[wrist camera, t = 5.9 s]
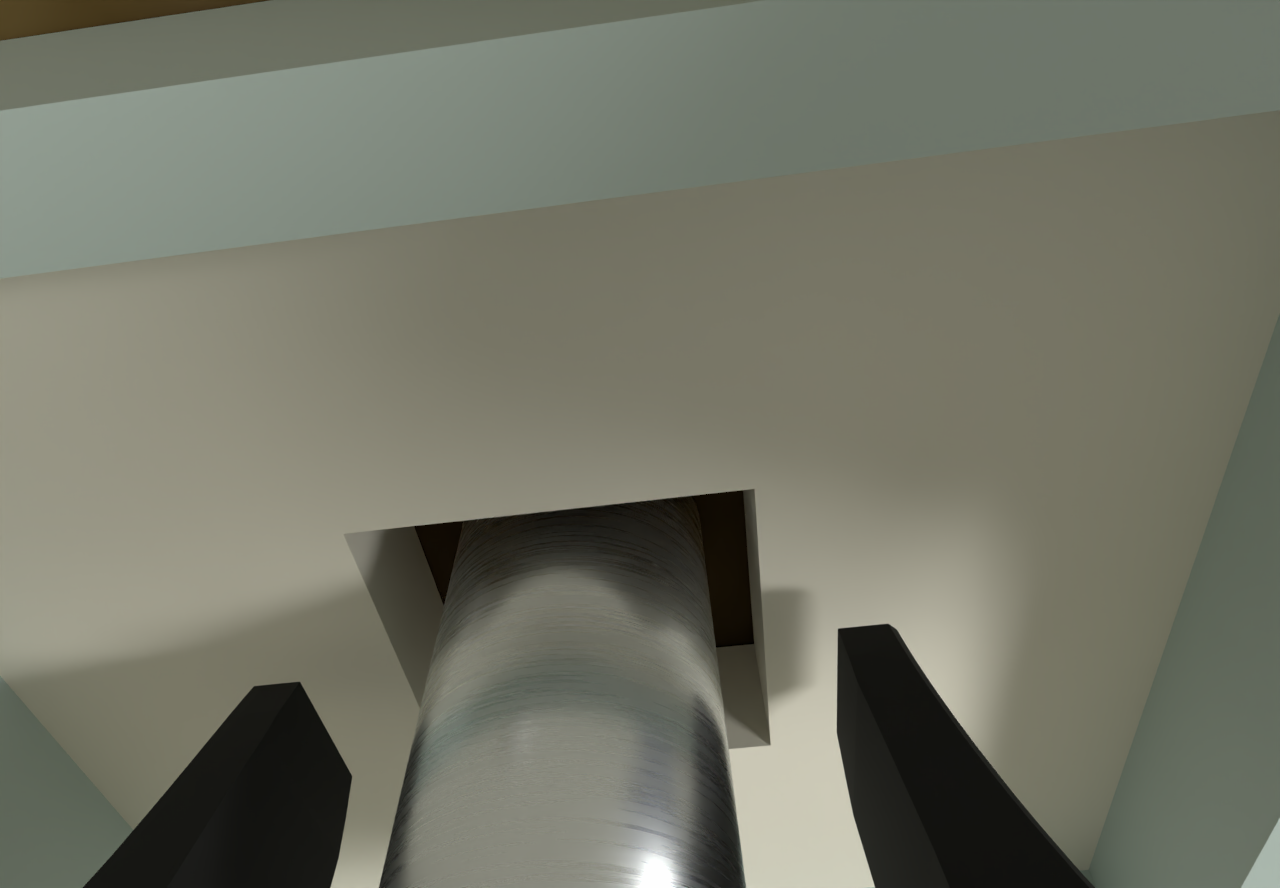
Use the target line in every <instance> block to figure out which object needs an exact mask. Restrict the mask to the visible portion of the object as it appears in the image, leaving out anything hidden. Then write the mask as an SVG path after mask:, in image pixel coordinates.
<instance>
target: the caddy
mask: <svg viewBox="0 0 1280 888" xmlns="http://www.w3.org/2000/svg"><path fill="white" fill-rule="evenodd" d="M740 490H743V499H744V513H745V526H746V540H747V554H748V567H749V581H750V595H751V609H752V622H753V636H754V644H749V645H739V646H729V647H719V648H716V651H717V659H718V667H719V675H720V683H721V691H722V699H723V707H724V715H725V723H726V731H727V739H728V747H729V755H730V763H731V771H732V779H733V787H734V795H735V803H736V811H737V819H738V827H739V835H740V842H741V850H742V858H743V866H744V874H745V882H746V888H875V885H874V882H873V879H872V876H871V872H870V869H869V866H868V862H867V859H866V856H865V852H864V849H863V846H862V843H861V839H860V836H859V833H858V829H857V826H856V823H855V819H854V816H853V812H852V807H851V802H850V797H849V792H848V787H847V782H846V778H845V772H844V767H843V762H842V757H841V752H840V747H839V742H838V737H837V656H838V629H839V628H849V627H859V626H869V625H879V624H890V625H891V626H893V627H894V628H895V629H897V630H898V632H899V634H900V636H901V637H902V639H903V641H904V642H905V644H906V646H907V647H908V649H909V650H910V652H911V653H912V655H913V657H914V658H915V660H916V661H917V663H918V664H919V666H920V667H921V669H922V671H923V672H924V674H925V675H926V677H927V678H928V679H929V681H930V682H931V684H932V685H933V687H934V688H935V690H936V691H937V693H938V694H939V695H940V697H941V698H942V700H943V701H944V702H945V704H946V705H947V707H948V708H949V709H950V711H951V712H952V714H953V715H954V716H955V718H956V719H957V721H958V722H959V723H960V725H961V726H962V727H963V729H964V730H965V731H966V733H967V734H968V735H969V737H970V738H971V740H972V741H973V742H974V744H975V745H976V746H977V747H978V749H979V750H980V751H981V752H982V754H983V755H984V756H985V758H986V759H987V760H988V761H989V763H990V764H991V765H992V766H993V768H994V769H995V770H996V772H997V773H998V774H999V775H1000V777H1001V778H1002V779H1003V780H1004V782H1005V783H1006V784H1007V786H1008V787H1009V788H1010V789H1011V791H1012V792H1013V793H1014V794H1015V796H1016V797H1017V798H1018V799H1019V800H1020V802H1021V803H1022V804H1023V805H1024V807H1025V808H1026V809H1027V810H1028V811H1029V813H1030V814H1031V815H1032V816H1033V817H1034V819H1035V820H1036V821H1037V822H1038V823H1039V825H1040V826H1041V827H1042V828H1043V829H1044V830H1045V831H1046V833H1047V834H1048V835H1049V836H1050V837H1051V838H1052V840H1053V841H1054V842H1055V843H1056V844H1057V845H1058V846H1059V848H1060V849H1061V850H1062V851H1063V852H1064V853H1065V855H1066V856H1067V857H1068V858H1069V859H1070V860H1071V861H1072V863H1073V864H1074V865H1075V866H1076V867H1077V868H1078V869H1079V870H1080V872H1081V873H1082V874H1083V875H1084V876H1085V877H1086V878H1087V879H1088V880H1089V882H1090V883H1091V884H1092V885H1093V886H1094V887H1095V888H1280V0H270V1H263V2H256V3H250V4H243V5H236V6H230V7H223V8H216V9H210V10H203V11H196V12H190V13H183V14H176V15H169V16H163V17H156V18H149V19H143V20H136V21H129V22H123V23H116V24H109V25H103V26H96V27H89V28H83V29H76V30H69V31H63V32H56V33H49V34H43V35H36V36H29V37H23V38H16V39H9V40H2V41H0V888H83V887H84V885H85V884H86V883H87V882H88V881H89V880H90V879H91V878H92V877H93V876H94V874H95V873H96V872H97V871H98V870H99V869H100V868H101V867H102V866H103V865H104V863H105V862H106V861H107V860H108V859H109V858H110V857H111V856H112V855H113V853H114V852H115V851H116V850H117V849H118V848H119V846H120V845H121V844H122V843H123V842H124V840H125V839H126V838H127V837H128V836H129V835H130V833H131V832H132V831H133V830H134V829H135V828H136V826H137V825H138V824H139V823H140V822H141V821H142V819H143V818H144V817H145V816H146V815H147V813H148V812H149V811H150V810H151V809H152V808H153V806H154V805H155V804H156V803H157V802H158V800H159V799H160V798H161V797H162V796H163V795H164V793H165V792H166V791H167V790H168V789H169V787H170V786H171V785H172V784H173V783H174V781H175V780H176V779H177V778H178V777H179V775H180V774H181V773H182V772H183V771H184V769H185V768H186V767H187V766H188V764H189V763H190V762H191V761H192V760H193V758H194V757H195V756H196V755H197V754H198V752H199V751H200V750H201V749H202V748H203V746H204V745H205V744H206V743H207V741H208V740H209V739H210V738H211V737H212V735H213V734H214V733H215V732H216V731H217V729H218V728H219V727H220V726H221V725H222V723H223V722H224V721H225V720H226V718H227V717H228V716H229V715H230V714H231V712H232V711H233V710H234V709H235V708H236V706H237V705H238V704H239V703H240V702H241V701H242V699H243V698H244V697H245V696H246V695H247V694H248V692H249V691H250V690H251V689H252V688H253V687H254V686H260V685H270V684H280V683H290V682H300V683H301V684H302V686H303V688H304V690H305V692H306V693H307V695H308V697H309V699H310V701H311V702H312V704H313V706H314V708H315V710H316V711H317V713H318V715H319V717H320V719H321V721H322V722H323V724H324V726H325V728H326V730H327V731H328V733H329V735H330V737H331V739H332V740H333V742H334V744H335V746H336V748H337V749H338V751H339V753H340V755H341V757H342V758H343V760H344V762H345V764H346V766H347V768H348V769H349V771H350V773H351V775H352V782H351V788H350V795H349V801H348V808H347V814H346V821H345V826H344V832H343V837H342V842H341V848H340V853H339V859H338V862H337V866H336V869H335V873H334V877H333V880H332V884H331V887H330V888H379V885H380V880H381V876H382V872H383V867H384V863H385V859H386V854H387V850H388V846H389V841H390V837H391V833H392V828H393V824H394V820H395V815H396V811H397V807H398V802H399V798H400V794H401V789H402V785H403V781H404V776H405V772H406V768H407V763H408V759H409V755H410V750H411V746H412V742H413V737H414V733H415V729H416V724H417V720H418V716H419V711H420V707H421V703H422V698H423V694H424V690H425V685H426V681H427V677H428V672H429V668H430V664H431V659H432V655H433V651H434V646H435V642H436V638H437V633H438V629H439V625H440V620H441V616H442V612H443V607H444V605H443V602H442V600H441V597H440V594H439V592H438V589H437V586H436V584H435V581H434V578H433V576H432V573H431V570H430V568H429V565H428V562H427V559H426V557H425V554H424V551H423V549H422V546H421V543H420V541H419V538H418V535H417V533H416V530H415V527H414V526H419V525H428V524H437V523H447V522H456V521H465V520H474V519H483V518H492V517H502V516H511V515H520V514H529V513H538V512H547V511H557V510H566V509H575V508H584V507H593V506H602V505H612V504H621V503H630V502H639V501H648V500H657V499H666V498H676V497H685V496H694V495H703V494H712V493H721V492H731V491H740Z"/></svg>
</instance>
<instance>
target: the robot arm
mask: <svg viewBox="0 0 1280 888" xmlns="http://www.w3.org/2000/svg"><path fill="white" fill-rule="evenodd" d="M837 737H838V742H839V747H840V752H841V757H842V762H843V767H844V772H845V778H846V782H847V787H848V792H849V797H850V802H851V807H852V812H853V816H854V819H855V823H856V826H857V829H858V833H859V836H860V839H861V843H862V846H863V849H864V852H865V856H866V859H867V862H868V866H869V869H870V872H871V876H872V879H873V882H874V885H875V888H1095V887H1094V886H1093V885H1092V884H1091V883H1090V882H1089V880H1088V879H1087V878H1086V877H1085V876H1084V875H1083V874H1082V873H1081V872H1080V870H1079V869H1078V868H1077V867H1076V866H1075V865H1074V864H1073V863H1072V861H1071V860H1070V859H1069V858H1068V857H1067V856H1066V855H1065V853H1064V852H1063V851H1062V850H1061V849H1060V848H1059V846H1058V845H1057V844H1056V843H1055V842H1054V841H1053V840H1052V838H1051V837H1050V836H1049V835H1048V834H1047V833H1046V831H1045V830H1044V829H1043V828H1042V827H1041V826H1040V825H1039V823H1038V822H1037V821H1036V820H1035V819H1034V817H1033V816H1032V815H1031V814H1030V813H1029V811H1028V810H1027V809H1026V808H1025V807H1024V805H1023V804H1022V803H1021V802H1020V800H1019V799H1018V798H1017V797H1016V796H1015V794H1014V793H1013V792H1012V791H1011V789H1010V788H1009V787H1008V786H1007V784H1006V783H1005V782H1004V780H1003V779H1002V778H1001V777H1000V775H999V774H998V773H997V772H996V770H995V769H994V768H993V766H992V765H991V764H990V763H989V761H988V760H987V759H986V758H985V756H984V755H983V754H982V752H981V751H980V750H979V749H978V747H977V746H976V745H975V744H974V742H973V741H972V740H971V738H970V737H969V735H968V734H967V733H966V731H965V730H964V729H963V727H962V726H961V725H960V723H959V722H958V721H957V719H956V718H955V716H954V715H953V714H952V712H951V711H950V709H949V708H948V707H947V705H946V704H945V702H944V701H943V700H942V698H941V697H940V695H939V694H938V693H937V691H936V690H935V688H934V687H933V685H932V684H931V682H930V681H929V679H928V678H927V677H926V675H925V674H924V672H923V671H922V669H921V667H920V666H919V664H918V663H917V661H916V660H915V658H914V657H913V655H912V653H911V652H910V650H909V649H908V647H907V646H906V644H905V642H904V641H903V639H902V637H901V636H900V634H899V632H898V630H897V629H895V628H894V627H893V626H891V625H890V624H879V625H869V626H859V627H849V628H839V629H838V656H837ZM351 782H352V775H351V773H350V771H349V769H348V768H347V766H346V764H345V762H344V760H343V758H342V757H341V755H340V753H339V751H338V749H337V748H336V746H335V744H334V742H333V740H332V739H331V737H330V735H329V733H328V731H327V730H326V728H325V726H324V724H323V722H322V721H321V719H320V717H319V715H318V713H317V711H316V710H315V708H314V706H313V704H312V702H311V701H310V699H309V697H308V695H307V693H306V692H305V690H304V688H303V686H302V684H301V683H300V682H290V683H280V684H270V685H260V686H254V687H253V688H252V689H251V690H250V691H249V692H248V694H247V695H246V696H245V697H244V698H243V699H242V701H241V702H240V703H239V704H238V705H237V706H236V708H235V709H234V710H233V711H232V712H231V714H230V715H229V716H228V717H227V718H226V720H225V721H224V722H223V723H222V725H221V726H220V727H219V728H218V729H217V731H216V732H215V733H214V734H213V735H212V737H211V738H210V739H209V740H208V741H207V743H206V744H205V745H204V746H203V748H202V749H201V750H200V751H199V752H198V754H197V755H196V756H195V757H194V758H193V760H192V761H191V762H190V763H189V764H188V766H187V767H186V768H185V769H184V771H183V772H182V773H181V774H180V775H179V777H178V778H177V779H176V780H175V781H174V783H173V784H172V785H171V786H170V787H169V789H168V790H167V791H166V792H165V793H164V795H163V796H162V797H161V798H160V799H159V800H158V802H157V803H156V804H155V805H154V806H153V808H152V809H151V810H150V811H149V812H148V813H147V815H146V816H145V817H144V818H143V819H142V821H141V822H140V823H139V824H138V825H137V826H136V828H135V829H134V830H133V831H132V832H131V833H130V835H129V836H128V837H127V838H126V839H125V840H124V842H123V843H122V844H121V845H120V846H119V848H118V849H117V850H116V851H115V852H114V853H113V855H112V856H111V857H110V858H109V859H108V860H107V861H106V862H105V863H104V865H103V866H102V867H101V868H100V869H99V870H98V871H97V872H96V873H95V874H94V876H93V877H92V878H91V879H90V880H89V881H88V882H87V883H86V884H85V885H84V887H83V888H330V887H331V884H332V880H333V877H334V873H335V869H336V866H337V862H338V859H339V853H340V848H341V842H342V837H343V832H344V826H345V821H346V814H347V808H348V801H349V795H350V788H351Z"/></svg>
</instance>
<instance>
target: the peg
mask: <svg viewBox="0 0 1280 888" xmlns="http://www.w3.org/2000/svg"><path fill="white" fill-rule="evenodd" d="M379 888H746V882H745V874H744V866H743V858H742V850H741V842H740V835H739V827H738V819H737V811H736V803H735V795H734V787H733V779H732V771H731V763H730V755H729V747H728V739H727V731H726V723H725V715H724V707H723V699H722V691H721V683H720V675H719V667H718V659H717V651H716V643H715V635H714V627H713V619H712V612H711V604H710V596H709V588H708V580H707V572H706V564H705V556H704V548H703V540H702V532H701V524H700V517H699V512H698V507H697V505H696V502H695V499H694V496H685V497H676V498H666V499H657V500H648V501H639V502H630V503H621V504H612V505H602V506H593V507H584V508H575V509H566V510H557V511H547V512H538V513H529V514H520V515H511V516H502V517H492V518H483V519H474V520H465V521H463V525H462V529H461V534H460V538H459V542H458V547H457V551H456V555H455V560H454V564H453V568H452V573H451V577H450V581H449V586H448V590H447V594H446V599H445V603H444V607H443V612H442V616H441V620H440V625H439V629H438V633H437V638H436V642H435V646H434V651H433V655H432V659H431V664H430V668H429V672H428V677H427V681H426V685H425V690H424V694H423V698H422V703H421V707H420V711H419V716H418V720H417V724H416V729H415V733H414V737H413V742H412V746H411V750H410V755H409V759H408V763H407V768H406V772H405V776H404V781H403V785H402V789H401V794H400V798H399V802H398V807H397V811H396V815H395V820H394V824H393V828H392V833H391V837H390V841H389V846H388V850H387V854H386V859H385V863H384V867H383V872H382V876H381V880H380V885H379Z"/></svg>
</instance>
